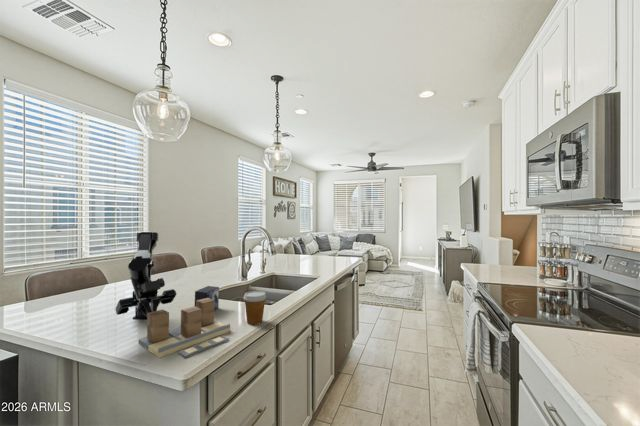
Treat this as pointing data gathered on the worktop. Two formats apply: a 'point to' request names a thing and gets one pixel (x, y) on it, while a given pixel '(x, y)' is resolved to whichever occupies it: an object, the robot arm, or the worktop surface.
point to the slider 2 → (206, 310)
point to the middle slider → (191, 321)
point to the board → (183, 339)
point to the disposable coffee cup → (254, 306)
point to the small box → (208, 295)
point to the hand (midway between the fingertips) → (154, 321)
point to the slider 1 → (157, 325)
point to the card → (203, 346)
